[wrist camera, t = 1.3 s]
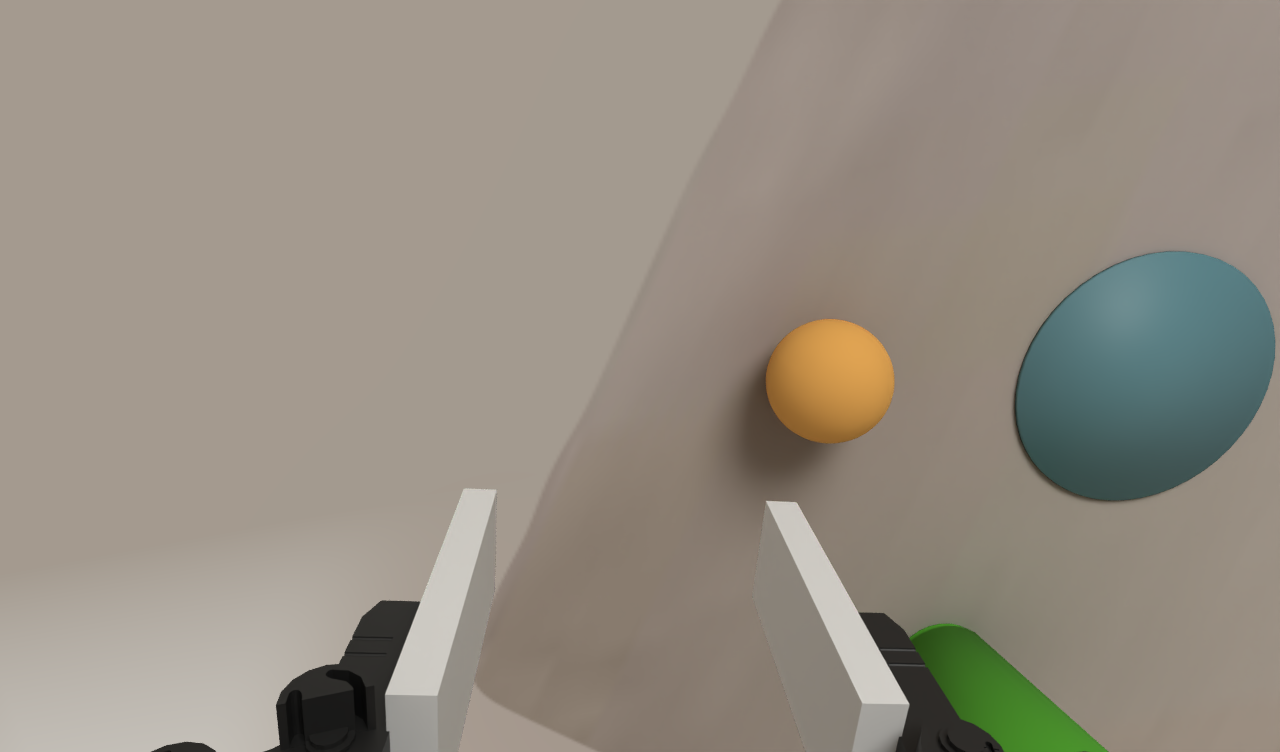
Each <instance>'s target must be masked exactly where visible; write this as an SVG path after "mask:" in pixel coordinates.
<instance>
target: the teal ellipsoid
mask: <svg viewBox="0 0 1280 752" xmlns="http://www.w3.org/2000/svg"><path fill="white" fill-rule="evenodd" d="M1274 359H1275V335H1274V326H1273V322H1272V318H1271V315H1270V311H1269V309H1268V307H1267V305H1266V302H1265V300H1264V298H1263V297H1262V295H1261V294H1260V292H1259V291H1258V289H1257V288H1256V286H1255V285H1254V284H1253V283H1252V282H1251V281H1250V280H1249V279H1248V278H1247V277H1246V276H1245V275H1244V274H1243V273H1241V272H1240V271H1239V270H1237V269H1236V268H1235V267H1233V266H1231V265H1229V264H1227V263H1225V262H1223V261H1221V260H1219V259H1216V258H1213V257H1210V256H1206V255H1203V254H1197V253H1190V252H1173V251H1166V252H1159V253H1151V254H1146V255H1142V256H1138V257H1135V258H1131V259H1128V260H1126V261H1123V262H1121V263H1118V264H1116V265H1113V266H1111V267H1109V268H1107V269H1106V270H1104V271H1102V272H1100V273H1098V274H1096V275H1095V276H1093V277H1092V278H1090V279H1089V280H1087V281H1086V282H1084V283H1083V284H1082V285H1080V286H1079V287H1078V288H1077V289H1075V290H1074V291H1073V292H1072V293H1071V294H1070V295H1068V296H1067V297H1066V298H1065V299H1064V300H1063V301H1062V302H1061V303H1060V304H1059V305H1058V306H1057V307H1056V309H1055V310H1054V311H1053V312H1052V313H1051V314H1050V316H1049V317H1048V318H1047V320H1046V321H1045V322H1044V324H1043V325H1042V326H1041V328H1040V329H1039V331H1038V333H1037V334H1036V336H1035V338H1034V339H1033V341H1032V343H1031V345H1030V347H1029V349H1028V352H1027V354H1026V356H1025V358H1024V361H1023V364H1022V367H1021V370H1020V374H1019V378H1018V383H1017V389H1016V401H1015V410H1016V422H1017V426H1018V430H1019V434H1020V438H1021V440H1022V443H1023V445H1024V447H1025V450H1026V451H1027V453H1028V455H1029V456H1030V458H1031V460H1032V461H1033V462H1034V464H1035V465H1036V466H1037V467H1038V468H1039V469H1040V471H1041V472H1042V473H1044V474H1045V475H1046V476H1047V477H1048V478H1050V479H1051V480H1052V481H1053V482H1055V483H1056V484H1058V485H1060V486H1061V487H1063V488H1065V489H1066V490H1069V491H1071V492H1073V493H1076V494H1078V495H1081V496H1085V497H1089V498H1094V499H1102V500H1129V499H1136V498H1142V497H1146V496H1150V495H1154V494H1158V493H1160V492H1163V491H1166V490H1168V489H1171V488H1173V487H1176V486H1178V485H1180V484H1182V483H1184V482H1186V481H1188V480H1189V479H1191V478H1193V477H1194V476H1196V475H1197V474H1199V473H1201V472H1202V471H1204V470H1205V469H1206V468H1208V467H1209V466H1210V465H1212V464H1213V463H1214V462H1215V461H1217V460H1218V459H1219V458H1220V457H1221V456H1222V455H1223V454H1224V453H1225V452H1226V451H1227V450H1229V449H1230V447H1231V446H1232V445H1233V444H1234V443H1235V442H1236V441H1237V440H1238V438H1239V437H1240V436H1241V435H1242V434H1243V432H1244V431H1245V429H1246V428H1247V427H1248V425H1249V424H1250V422H1251V421H1252V419H1253V418H1254V416H1255V414H1256V412H1257V411H1258V409H1259V407H1260V405H1261V403H1262V401H1263V398H1264V396H1265V394H1266V391H1267V389H1268V385H1269V382H1270V379H1271V375H1272V371H1273V365H1274Z"/></svg>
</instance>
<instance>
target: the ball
mask: <svg viewBox="0 0 1280 752" xmlns="http://www.w3.org/2000/svg"><path fill="white" fill-rule="evenodd" d="M766 390H767V395H768V399H769V402H770V404H771V407H772V409H773V410H774V412H775V414H776V415H777V417H778V418H779V419H780V421H781V422H782V423H783V424H784V425H785V426H786V427H787V428H788V429H790V430H791V431H792V432H794V433H796V434H797V435H799V436H801V437H803V438H805V439H808V440H811V441H815V442H819V443H840V442H846V441H849V440H853V439H855V438H858V437H860V436H861V435H863V434H865V433H866V432H868V431H869V430H871V429H872V428H873V427H874V426H875V425H876V424H877V423H878V422H879V421H880V420H881V419H882V417H883V416H884V415H885V413H886V411H887V409H888V407H889V405H890V403H891V399H892V396H893V392H894V372H893V366H892V363H891V360H890V358H889V356H888V353H887V352H886V350H885V348H884V347H883V345H882V344H881V343H880V342H879V341H878V339H877V338H876V337H875V336H873V335H872V334H871V333H870V332H869V331H867V330H865V329H864V328H862V327H860V326H858V325H856V324H854V323H851V322H847V321H844V320H836V319H823V320H817V321H813V322H809V323H807V324H804V325H802V326H800V327H798V328H796V329H794V330H793V331H792V332H790V333H789V334H788V335H787V336H785V337H784V338H783V339H782V341H781V342H780V343H779V344H778V345H777V347H776V348H775V350H774V352H773V354H772V356H771V358H770V361H769V364H768V367H767V372H766Z"/></svg>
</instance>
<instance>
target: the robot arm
mask: <svg viewBox="0 0 1280 752" xmlns="http://www.w3.org/2000/svg"><path fill="white" fill-rule="evenodd" d="M496 502H497V490H489V489H488V490H487V489H464V490H463V493H462V495H461V498H460V501H459V503H458V506H457V508H456V511H455V514H454V516H453V519H452V522H451V524H450V527H449V529H448V532H447V534H446V537H445V540H444V542H443V545H442V547H441V550H440V553H439V555H438V558H437V561H436V563H435V566H434V568H433V571H432V574H431V576H430V579H429V581H428V584H427V587H426V590H425V592H424V594H423V597H422V600H421V602H412V601H380V602H379V603H378V604H377V605H376V606H374V607H373V608H372V609H371V610H370V611H369V612H367V613H366V614H365V615H364V616H363V617H362V618H361V620H360V622H359V625H358V627H357V628H356V630H355V632H354V634H353V637H352V640H351V641H350V642H349V644H348V646H347V649H346V651H345V655H344V656H343V657H342V659H341V661H340V663H339V664H335V665H325V666H322V667H319V668H315V669H312V670H309V671H307V672H305V673H304V674H302V675H301V676H299V677H297V678H295V679H293V680H292V681H291V682H290V683H289V684H288V685H287V687H286V688H285V689H284V690H283V691H282V692H281V694H280V697H279V699H278V701H277V704H276V710H277V720H278V729H279V740H280V745H279V746H277V747H275V748H273V749H271V750H268V751H265V752H458V750H459V745H460V741H461V737H462V732H463V728H464V724H465V719H466V715H467V710H468V706H469V702H470V697H471V693H472V688H473V684H474V680H475V675H476V671H477V666H478V662H479V658H480V653H481V649H482V645H483V640H484V636H485V631H486V627H487V623H488V618H489V614H490V609H491V605H492V601H493V596H494V592H495V567H496V566H495V565H496V563H495V562H496V504H497V503H496ZM752 598H753V601H754V604H755V607H756V610H757V613H758V615H759V618H760V621H761V624H762V627H763V630H764V633H765V636H766V639H767V642H768V645H769V647H770V650H771V653H772V656H773V659H774V662H775V665H776V668H777V671H778V674H779V677H780V679H781V682H782V685H783V688H784V691H785V694H786V697H787V700H788V703H789V706H790V709H791V711H792V714H793V717H794V720H795V723H796V726H797V729H798V732H799V735H800V738H801V740H802V743H803V746H804V749H805V752H1004V751H1003V749H1002V747H1001V745H1000V744H999V743H998V742H997V741H996V740H995V739H994V738H993V737H992V736H991V735H990V734H989V733H987V732H986V731H984V730H982V729H981V728H979V727H978V726H976V725H975V724H972V723H970V722H967V721H964V720H962V719H960V718H959V716H958V714H957V713H956V711H955V710H954V708H953V706H952V705H951V703H950V702H949V700H948V699H947V697H946V695H945V694H944V692H943V691H942V689H941V688H940V686H939V684H938V683H937V681H936V680H935V678H934V676H933V675H932V673H931V672H930V670H929V669H928V667H925V662H924V661H923V659H922V658H921V656H920V654H919V653H918V652H916V648H915V646H914V645H913V643H912V642H911V640H910V639H909V637H908V635H907V634H906V632H905V631H904V629H902V628H901V627H900V626H899V625H898V624H896V623H895V622H894V621H893V620H892V619H890V618H889V617H888V616H887V615H885V614H884V613H859V612H858V611H857V610H856V608H855V606H854V604H853V602H852V601H851V599H850V597H849V595H848V593H847V592H846V590H845V588H844V586H843V585H842V583H841V581H840V579H839V577H838V576H837V574H836V572H835V570H834V568H833V567H832V565H831V563H830V561H829V559H828V558H827V556H826V554H825V552H824V551H823V549H822V547H821V545H820V543H819V542H818V540H817V538H816V536H815V534H814V533H813V531H812V529H811V527H810V525H809V524H808V522H807V520H806V518H805V517H804V515H803V513H802V511H801V509H800V508H799V506H798V504H797V502H779V501H766V505H765V511H764V518H763V525H762V532H761V539H760V546H759V552H758V559H757V566H756V573H755V580H754V587H753V593H752ZM152 752H216V751H215V750H213V749H212V748H210V747H209V746H207V745H205V744H202V743H193V742H182V743H177V744H172V745H166V746H164V747H161V748H159V749H157V750H154V751H152ZM1082 752H1086V751H1082Z"/></svg>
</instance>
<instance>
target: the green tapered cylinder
mask: <svg viewBox="0 0 1280 752" xmlns="http://www.w3.org/2000/svg"><path fill="white" fill-rule="evenodd" d="M909 639H910V640H911V642H912V643H913V645H914V646H915V648H916V652H918V653H919V654H920V656H921V658H922V659H923V661H924V662H925V667H928V669H929V670H930V672H931V673H932V675H933V676H934V678H935V680H936V681H937V683H938V684H939V686H940V688H941V689H942V691H943V692H944V694H945V695H946V697H947V699H948V700H949V702H950V703H951V705H952V706H953V708H954V710H955V711H956V713H957V714H958V716H959V718H960V719H962V720H964V721H967V722H970V723H972V724H975V725H976V726H978V727H979V728H981V729H982V730H984V731H986V732H987V733H989V734H990V735H991V736H992V737H993V738H994V739H995V740H996V741H997V742H998V743H999V744H1000V745H1001V747H1002V749H1003V751H1004V752H1082V751H1086V752H1108V751H1107V750H1106V749H1105V748H1104V747H1102V746H1101V745H1100V744H1099V743H1098V742H1097V741H1096V740H1095V739H1093V738H1092V737H1091V736H1090V735H1089V734H1088V733H1087V732H1086V731H1085V730H1083V729H1082V728H1081V727H1080V726H1079V725H1078V724H1077V723H1076V722H1074V721H1073V720H1072V719H1071V718H1070V717H1069V716H1068V715H1067V714H1065V713H1064V712H1063V711H1062V710H1061V709H1060V708H1059V707H1058V706H1057V705H1055V704H1054V703H1053V702H1052V701H1051V700H1050V699H1049V698H1048V697H1046V696H1045V695H1044V694H1043V693H1042V692H1041V691H1040V690H1039V689H1037V688H1036V687H1035V686H1034V685H1033V684H1032V683H1031V682H1030V681H1029V680H1027V679H1026V678H1025V677H1024V676H1023V675H1022V674H1021V673H1020V672H1018V671H1017V670H1016V669H1015V668H1014V667H1013V666H1012V665H1011V664H1009V663H1008V662H1007V661H1006V660H1005V659H1004V658H1003V657H1002V656H1001V655H999V654H998V653H997V652H996V651H995V650H994V649H993V648H992V647H990V646H989V645H988V644H987V643H986V642H985V641H984V640H983V639H981V638H980V637H979V636H978V635H977V634H976V633H975V632H973V631H971V630H968V629H966V628H963V627H961V626H959V625H954V624H937V625H933V626H929V627H927V628H924V629H922V630H920V631H918V632H917V633H915V634H914V635H913V636H911V637H910V638H909Z"/></svg>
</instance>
